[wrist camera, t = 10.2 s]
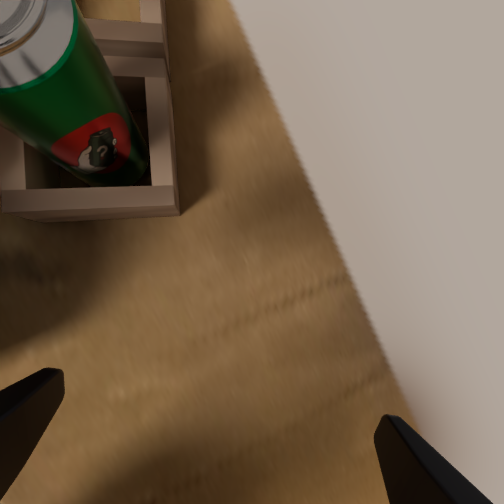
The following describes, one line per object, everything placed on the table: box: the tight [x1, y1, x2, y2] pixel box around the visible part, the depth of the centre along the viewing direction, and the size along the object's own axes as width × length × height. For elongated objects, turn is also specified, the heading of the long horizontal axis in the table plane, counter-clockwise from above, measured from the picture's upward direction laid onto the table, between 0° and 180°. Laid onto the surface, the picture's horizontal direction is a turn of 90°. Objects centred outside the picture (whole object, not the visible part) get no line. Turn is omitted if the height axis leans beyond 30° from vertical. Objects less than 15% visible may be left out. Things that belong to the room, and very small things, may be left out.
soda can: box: [0, 0, 149, 187], centre depth 13 cm, size 5×5×12 cm
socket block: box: [0, 0, 180, 223], centre depth 16 cm, size 19×10×6 cm, turn 5°
